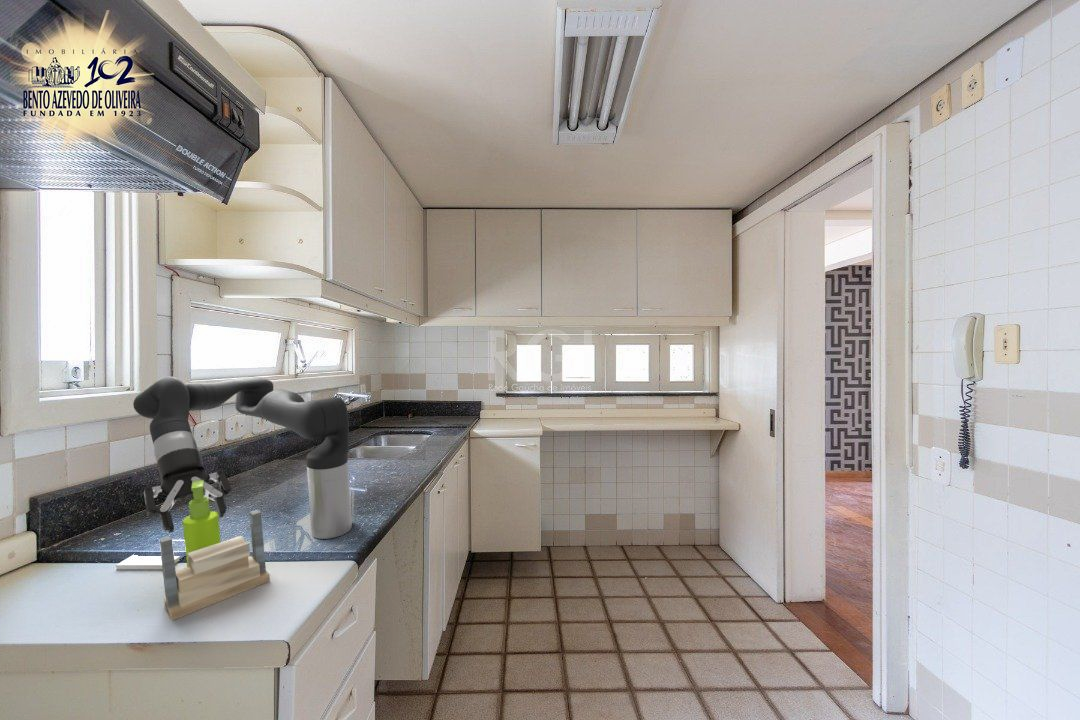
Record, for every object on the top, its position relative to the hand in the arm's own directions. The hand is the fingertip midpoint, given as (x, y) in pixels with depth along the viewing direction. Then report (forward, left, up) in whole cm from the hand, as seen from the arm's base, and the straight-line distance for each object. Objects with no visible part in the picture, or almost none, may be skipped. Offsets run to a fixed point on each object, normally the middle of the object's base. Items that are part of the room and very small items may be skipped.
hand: (197, 523), depth 96 cm
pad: (-8, -15, -12) cm, 21 cm away
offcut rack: (+6, +8, -12) cm, 15 cm away
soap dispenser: (0, +1, -12) cm, 12 cm away
